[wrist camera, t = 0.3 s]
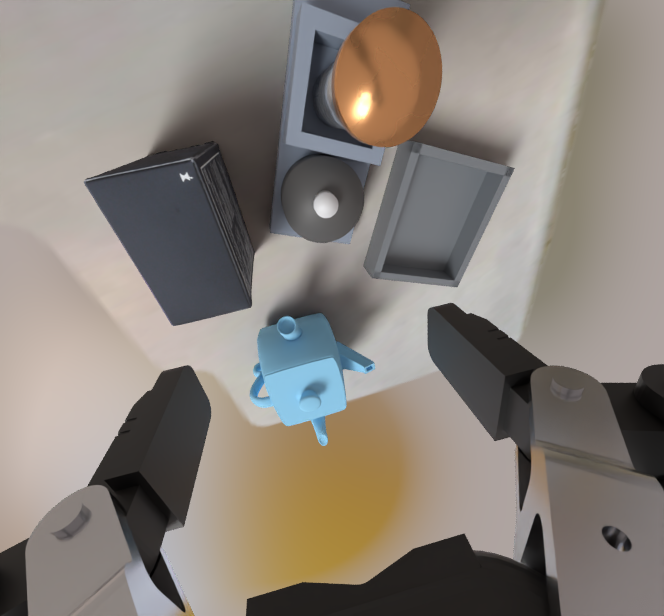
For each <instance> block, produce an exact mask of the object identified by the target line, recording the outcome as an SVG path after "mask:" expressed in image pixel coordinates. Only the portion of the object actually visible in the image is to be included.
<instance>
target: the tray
mask: <svg viewBox="0 0 664 616" xmlns="http://www.w3.org/2000/svg"><path fill="white" fill-rule="evenodd" d="M514 169H515V168H512V167H508V166H504V165H501V164H497V163H493V162H489V161H486V160H482V159H478V158H475V157H471V156H467V155H463V154H460V153H456V152H452V151H448V150H445V149H441V148H437V147H433V146H430V145H426V144H422V143H418V142H415V141H408V140H407V141H406V142H404V143H402V144H399V145H398V148H397V151H396V155H395V158H394V162H393V165H392V169H391V172H390V176H389V179H388V183H387V186H386V189H385V193H384V196H383V200H382V203H381V207H380V210H379V214H378V217H377V221H376V224H375V228H374V231H373V235H372V238H371V242H370V245H369V249H368V252H367V255H366V259H365V262H364V268H365V269H366V270H367V272H368V273H369V275H370V276H371V277H372V278H376V279H385V280H394V281H404V282H413V283H422V284H431V285H441V286H450V287H458V285H459V283H460V281H461V279H462V277H463V274H464V272H465V270H466V268H467V266H468V264H469V262H470V260H471V258H472V256H473V254H474V252H475V250H476V247H477V245H478V243H479V241H480V239H481V237H482V235H483V233H484V231H485V229H486V227H487V225H488V223H489V220H490V218H491V216H492V214H493V212H494V210H495V208H496V206H497V204H498V202H499V200H500V198H501V196H502V193H503V191H504V189H505V187H506V185H507V183H508V181H509V179H510V177H511V175H512V173H513V171H514Z"/></svg>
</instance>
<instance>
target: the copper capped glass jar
mask: <svg viewBox="0 0 664 616" xmlns="http://www.w3.org/2000/svg"><path fill="white" fill-rule="evenodd" d="M441 81H442V60H441V54H440V49H439V45H438V43H437V40H436V37H435V35H434V33H433V31H432V30H431V28H430V27H429V25H428V24H427V23H426V22H425V21H424V20H423V18H421V17H420V16H419V15H417V14H416V13H414V12H412V11H411V10H408V9H405V8H400V7H389V8H384V9H381V10H378V11H376V12H374V13H372V14H371V15H369V16H368V17H366V18H365V19H364V20H363V21H362V22H361V23H360V24H358V25H357V26H356V27H355V28H354V29H353V30H352V31H351V32H350V33H349V35H348V36H347V37H346V39H345V40H344V42H343V43H342V45H341V47H340V49H339V51H338V53H337V56H336V59H335V62H334V63H333V64H331V65H330V66H329V67H327V68H326V69H325V70H323V71H322V72H321V73H320V75H319V76H318V77H317V79H316V81H315V83H314V87H313V92H312V102H313V107H314V110H315V112H316V115H317V116H318V118H319V119H320V120H321V121H322V122H323V123H324V124H325V125H327V126H329V127H332V128H339V129H345V130H346V131H347V132H348V133H349V134H350V135H351V136H352V137H354V138H355V139H356V140H358V141H360V142H362V143H365V144H368V145H372V146H376V147H393V146H396V145H399V144H402V143H404V142H406V141H407V140H409V139H410V138H412V137H413V136H414V135H415V134H417V133H418V132H419V131H420V130H421V129H422V127H423V126H424V125H425V123H426V122H427V121H428V119H429V117H430V116H431V114H432V112H433V110H434V108H435V105H436V102H437V100H438V96H439V93H440V88H441Z"/></svg>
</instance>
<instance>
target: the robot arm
mask: <svg viewBox="0 0 664 616" xmlns="http://www.w3.org/2000/svg"><path fill="white" fill-rule="evenodd" d="M428 350H429V353H430V356H431V358H432V360H433V362H434V363H435V365H436V366H437V367H438V369H439V370H440V371H441V372H442V374H443V375H444V376H445V378H446V379H447V380H448V381H449V383H450V384H451V385H452V386H453V388H454V389H455V390H456V392H457V393H458V394H459V396H460V397H461V398H462V399H463V401H464V402H465V403H466V405H467V406H468V407H469V408H470V410H471V411H472V412H473V414H474V415H475V416H476V417H477V419H478V420H479V421H480V423H481V424H482V425H483V426H484V428H485V429H486V430H487V432H488V433H489V434H490V435H491V437H492V438H493V439H494V441H497V440H501V439H504V438H508V437H511V439H512V440H513V441H514V442H515V443H516V448H515V475H516V477H515V478H516V530H515V539H514V557H513V559H511V558H508V557H504V556H501V555H498V554H495V553H490V552H484V551H475V550H472V548H471V546H470V544H469V542H468V540H467V538H466V536H465V534H461V535H458V536H454V537H451V538H448V539H444V540H441V541H438V542H435V543H431V544H428V545H425V546H421V547H418V548H415V549H413V550H411V551H410V552H408V553H407V554H406V555H404V556H403V557H401V558H400V559H399V560H397V561H396V562H395V563H393V564H392V565H390V566H389V567H387V568H386V569H385V570H383V571H382V572H380V573H379V574H378V575H377V576H375V577H373V578H372V579H371V580H369V581H368V582H366V583H364V584H361V585H349V584H328V583H306V582H302V583H299V584H296V585H292V586H289V587H286V588H282V589H279V590H276V591H272V592H269V593H266V594H263V595H259V596H256V597H253V598H249V599H247V609H246V616H664V364H660V365H652V366H648V367H646V368H645V369H644V370H643V371H642V373H641V375H640V377H639V379H638V382H637V383H599V382H598V381H597V380H596V379H594V378H593V377H591V376H590V375H588V374H586V373H584V372H581V371H579V370H576V369H572V368H569V367H564V366H547V365H546V364H545V363H543V362H542V361H541V360H539V359H538V358H537V357H535V356H534V355H533V354H532V353H530V352H529V351H527V350H526V349H525V348H523V347H522V346H521V345H519V344H518V343H517V342H516V341H514V340H513V339H512V338H509V337H508V335H507V334H505V333H504V332H503V331H501V330H499V329H498V328H497V327H496V326H495V325H493V324H492V323H491V322H489V321H488V320H487V319H484V318H482V317H479V316H477V315H474V314H472V313H470V314H466V313H465V312H464V311H462V310H461V309H460V308H459V307H457V306H456V305H455V304H453V303H448V304H444V305H440V306H436V307H432V308H429V310H428ZM210 419H211V407H210V402H209V400H208V397H207V395H206V393H205V392H204V390H203V388H202V386H201V384H200V382H199V380H198V378H197V376H196V374H195V372H194V370H193V369H192V367H190V366H188V365H187V366H183V367H178V368H174V369H170V370H166V371H163V372H162V373H161V374H160V376H159V378H158V379H157V381H156V383H155V385H154V387H153V389H152V390H151V391H147V392H146V393H145V394H144V395H143V397H141V398H140V400H138V401H137V403H136V404H135V405H134V406H133V407H132V409H131V411H130V413H129V414H128V416H127V418H126V420H125V423H123V425H122V427H121V428H120V430H119V432H118V436H116V437H115V439H114V441H113V442H112V444H111V446H110V448H109V449H108V451H107V453H106V454H105V456H104V458H103V460H102V461H101V463H100V465H99V467H98V468H97V470H96V472H95V474H94V475H93V477H92V479H91V481H90V482H89V484H88V486H87V487H85V488H83V489H80V490H78V491H76V492H74V493H73V494H71V495H69V496H68V497H66V498H65V499H63V500H62V501H61V502H60V503H58V504H57V505H56V506H55V507H53V508H52V509H51V510H50V511H49V512H48V513H47V514H46V515H45V516H44V518H43V519H42V520H41V521H40V522H39V524H38V525H37V526H36V528H35V529H34V531H33V532H32V534H31V536H30V538H28V539H26V540H24V541H22V542H21V543H18V544H16V545H15V546H13V547H11V548H9V549H7V550H5V551H3V552H2V553H0V616H195V615H194V613H193V611H192V609H191V607H190V605H189V602H188V600H187V598H186V596H185V594H184V591H183V589H182V587H181V585H180V583H179V580H178V578H177V576H176V574H175V572H174V569H173V567H172V565H171V563H170V561H169V559H168V556H167V554H166V552H165V550H164V549H163V548H162V547H161V545H162V541H163V538H164V534H165V532H167V531H170V530H174V529H177V528H181V527H184V524H185V520H186V516H187V512H188V508H189V504H190V500H191V496H192V492H193V488H194V483H195V480H196V475H197V472H198V467H199V464H200V460H201V456H202V452H203V447H204V443H205V439H206V435H207V431H208V427H209V423H210Z"/></svg>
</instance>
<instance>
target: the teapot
mask: <svg viewBox="0 0 664 616" xmlns="http://www.w3.org/2000/svg"><path fill="white" fill-rule="evenodd" d="M257 343H258V354H259V361H260V363H258V364H256V365H255V366H254V369H253V373H254V375H255V376H256V377H257V379H256V380H255V382H254V383H253V385H252V387H251V390H250V399H251V401H252V402H253V403H254V404H255V405H256V406H258V407H263V408H267V407H271V406H274V408H275V410H276V412H277V414H278V415H279V417H280V419H281V420H282V422H283V423H284V424H285V425H286V426H291V425H295V424H298V423H302V422H306V421H309V420H311V422H312V424H313V426H314V429H315V432H316V435H317V438H318V441H319V443H320V444H321V445H322V446H325V445H326V444H327V442H328V437H327V433H326V426H325V416H326V415H329V414H332V413H335V412H338V411H341V410H344V409H345V408H346V393H345V385H344V377H343V369H348V370H353V371H358V372H363V373H365V374H366V373H368V372H370V371H372V370H374V369H375V365H374V362H373V361H371V360H370V359H368V358H366V357H364V356H363V355H361V354H359V353H357V352H355V351H354V350H352V349H350V348H348V347H347V346H345V345H343V344H341V343H340V342H338V341H337V342H336V341H335V338H334V335H333V332H332V329H331V327H330V324H329V322H328V320H327V319H326V317H325V316H324V315H323V314H322V313H317V314H312V315H308V316H304V317H300V318H296V319H294V318H292V317H290V316H283V317H281V318H280V319H279V320H278V322H277V324H275V325H271V326H268V327H265V328H262V329H261V330H260V332H259V335H258V339H257ZM264 383H265V386H266V389H267V392H268V394H269V397H264V398H260V397H257V396H258V393H259V391H260V389H261V387H262V386H263V384H264Z"/></svg>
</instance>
